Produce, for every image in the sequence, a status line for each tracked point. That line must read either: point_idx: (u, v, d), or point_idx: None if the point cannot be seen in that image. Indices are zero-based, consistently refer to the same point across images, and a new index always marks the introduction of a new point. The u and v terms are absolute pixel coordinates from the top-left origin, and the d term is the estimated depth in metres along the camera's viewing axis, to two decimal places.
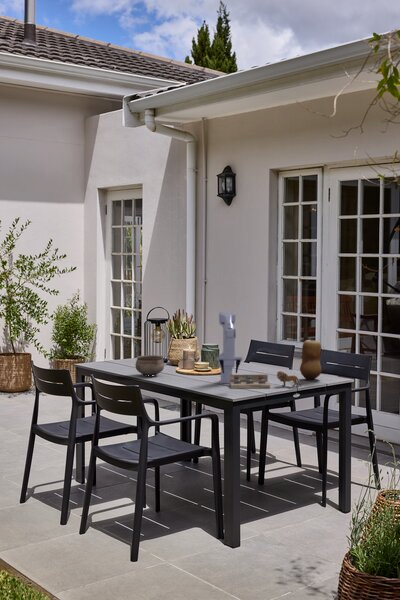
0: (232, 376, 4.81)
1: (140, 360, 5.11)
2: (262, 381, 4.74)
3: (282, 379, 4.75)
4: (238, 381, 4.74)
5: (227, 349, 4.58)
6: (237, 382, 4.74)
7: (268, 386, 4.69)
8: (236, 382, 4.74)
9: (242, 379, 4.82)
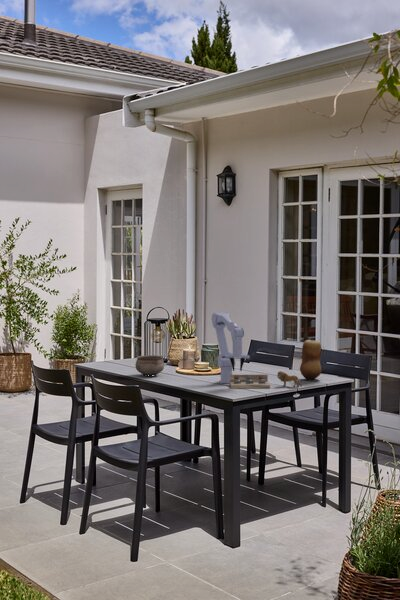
0: (232, 376, 4.81)
1: (140, 360, 5.11)
2: (262, 381, 4.74)
3: (282, 379, 4.75)
4: (238, 381, 4.74)
5: (236, 347, 4.72)
6: (237, 382, 4.74)
7: (268, 386, 4.69)
8: (236, 382, 4.74)
9: (242, 379, 4.82)
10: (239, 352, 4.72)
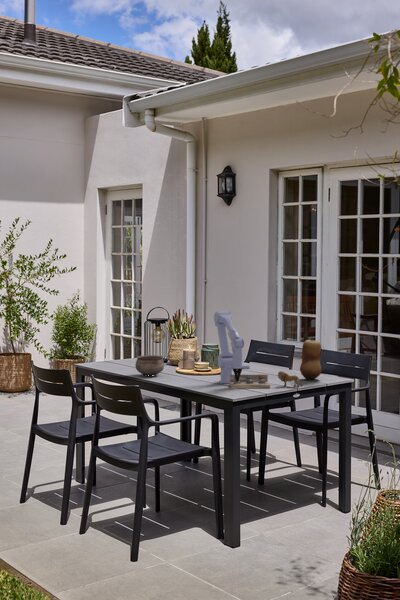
0: (232, 376, 4.81)
1: (140, 360, 5.11)
2: (262, 381, 4.74)
3: (283, 379, 4.75)
4: (238, 382, 4.74)
5: (236, 358, 4.72)
6: (237, 383, 4.74)
7: (268, 386, 4.69)
8: (236, 383, 4.74)
9: (242, 379, 4.82)
10: (239, 363, 4.72)
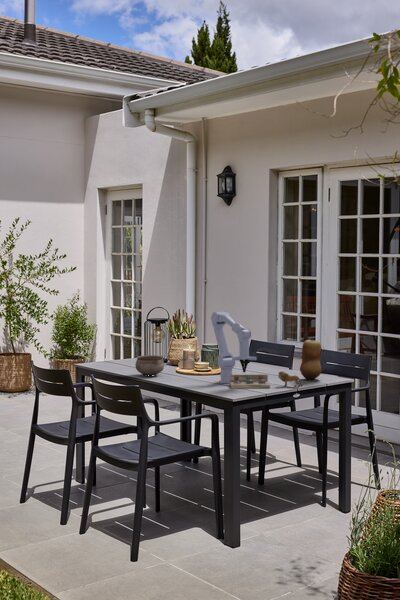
0: (232, 376, 4.81)
1: (140, 360, 5.11)
2: (262, 381, 4.74)
3: (283, 379, 4.75)
4: (238, 383, 4.74)
5: (244, 349, 4.72)
6: None
7: (268, 386, 4.69)
8: None
9: (242, 379, 4.82)
10: (246, 353, 4.72)
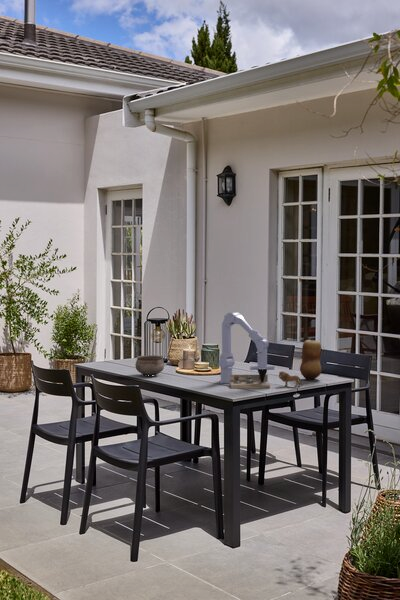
0: (232, 376, 4.81)
1: (140, 360, 5.11)
2: None
3: (284, 379, 4.75)
4: (238, 383, 4.74)
5: (264, 359, 4.73)
6: None
7: (268, 386, 4.69)
8: None
9: (242, 379, 4.82)
10: (264, 363, 4.73)
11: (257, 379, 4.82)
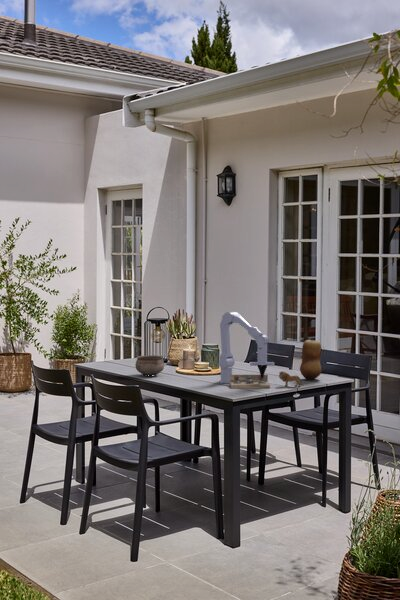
0: (232, 376, 4.81)
1: (140, 360, 5.11)
2: None
3: (284, 379, 4.75)
4: (238, 383, 4.74)
5: (264, 354, 4.73)
6: None
7: (268, 386, 4.69)
8: None
9: (242, 379, 4.82)
10: (264, 359, 4.73)
11: (257, 379, 4.82)
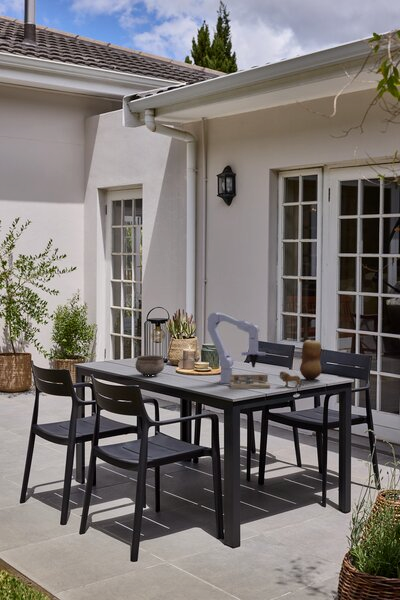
0: (232, 376, 4.81)
1: (140, 360, 5.11)
2: None
3: (285, 379, 4.75)
4: (238, 383, 4.74)
5: (256, 344, 4.80)
6: None
7: (268, 386, 4.69)
8: None
9: (242, 379, 4.82)
10: (255, 349, 4.80)
11: (257, 379, 4.82)
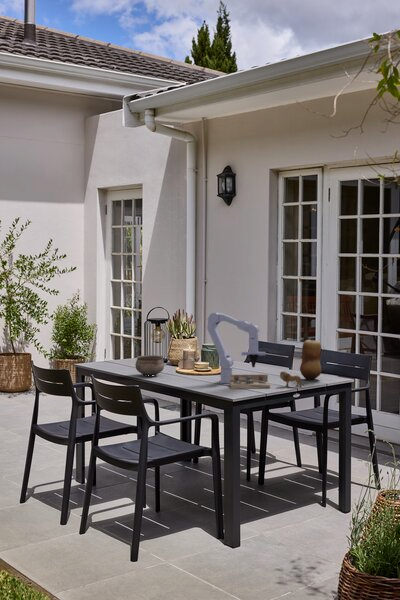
0: (232, 376, 4.81)
1: (140, 360, 5.11)
2: None
3: (285, 379, 4.75)
4: (238, 383, 4.74)
5: (256, 344, 4.80)
6: None
7: (268, 386, 4.69)
8: None
9: (242, 379, 4.82)
10: (255, 349, 4.80)
11: (257, 379, 4.82)
